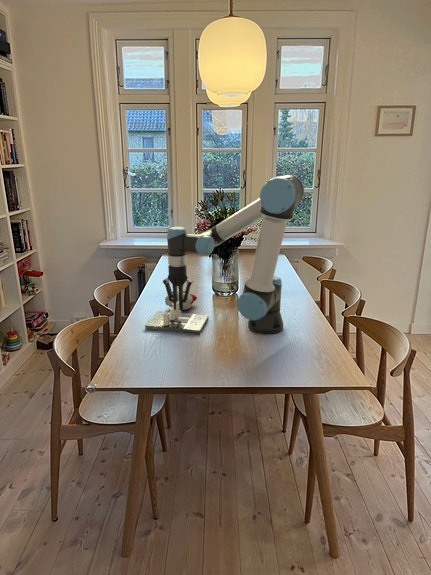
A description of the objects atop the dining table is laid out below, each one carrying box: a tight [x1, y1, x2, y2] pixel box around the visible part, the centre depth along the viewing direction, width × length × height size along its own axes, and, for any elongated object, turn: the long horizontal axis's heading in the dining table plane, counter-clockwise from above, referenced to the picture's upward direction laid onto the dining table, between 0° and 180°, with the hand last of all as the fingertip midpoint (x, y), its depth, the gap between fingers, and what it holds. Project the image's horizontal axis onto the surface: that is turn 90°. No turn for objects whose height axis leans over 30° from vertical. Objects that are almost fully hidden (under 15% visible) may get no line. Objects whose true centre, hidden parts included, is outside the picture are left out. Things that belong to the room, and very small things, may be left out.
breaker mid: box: [169, 307, 176, 320], centre depth 174 cm, size 2×2×5 cm
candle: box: [164, 290, 198, 311], centre depth 192 cm, size 9×11×15 cm
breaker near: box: [163, 313, 170, 326], centre depth 169 cm, size 2×2×5 cm
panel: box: [144, 310, 210, 336], centre depth 175 cm, size 24×16×2 cm, turn 78°
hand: (178, 316), depth 174 cm, fingers closed
